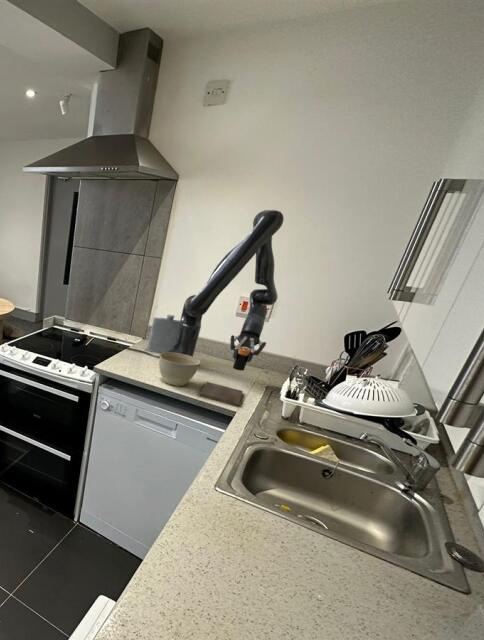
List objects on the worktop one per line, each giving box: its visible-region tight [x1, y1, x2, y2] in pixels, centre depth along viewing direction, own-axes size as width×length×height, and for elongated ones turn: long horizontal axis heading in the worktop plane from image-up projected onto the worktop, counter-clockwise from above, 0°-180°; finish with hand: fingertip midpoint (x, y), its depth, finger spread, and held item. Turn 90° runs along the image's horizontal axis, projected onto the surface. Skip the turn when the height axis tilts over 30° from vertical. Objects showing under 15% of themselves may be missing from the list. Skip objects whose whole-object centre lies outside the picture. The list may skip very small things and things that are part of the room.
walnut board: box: [199, 381, 243, 407], centre depth 160 cm, size 14×16×1 cm
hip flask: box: [146, 314, 181, 354], centre depth 204 cm, size 16×4×20 cm, turn 79°
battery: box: [232, 347, 251, 372], centre depth 167 cm, size 4×4×9 cm
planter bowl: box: [158, 352, 201, 387], centre depth 167 cm, size 16×16×11 cm
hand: (241, 359), depth 165 cm, fingers closed on battery, 4 cm apart
